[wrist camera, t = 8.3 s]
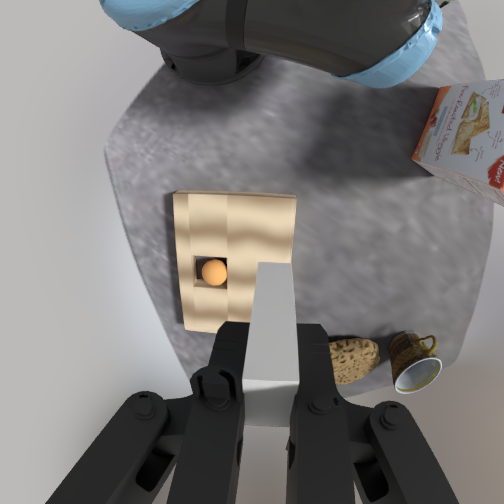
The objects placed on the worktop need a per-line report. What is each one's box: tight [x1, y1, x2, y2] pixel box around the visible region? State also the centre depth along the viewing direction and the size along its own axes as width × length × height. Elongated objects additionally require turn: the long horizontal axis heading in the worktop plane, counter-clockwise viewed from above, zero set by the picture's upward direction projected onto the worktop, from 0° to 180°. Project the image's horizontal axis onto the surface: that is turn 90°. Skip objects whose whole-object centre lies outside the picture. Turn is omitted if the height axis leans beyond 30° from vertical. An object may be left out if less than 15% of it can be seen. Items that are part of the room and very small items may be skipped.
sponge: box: [329, 338, 380, 385], centre depth 47 cm, size 13×8×20 cm
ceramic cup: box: [388, 331, 442, 394], centre depth 43 cm, size 13×10×10 cm
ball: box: [202, 259, 227, 286], centre depth 42 cm, size 4×4×4 cm
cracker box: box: [411, 79, 504, 206], centre depth 22 cm, size 14×6×21 cm, turn 157°
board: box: [173, 190, 297, 333], centre depth 43 cm, size 24×17×2 cm
